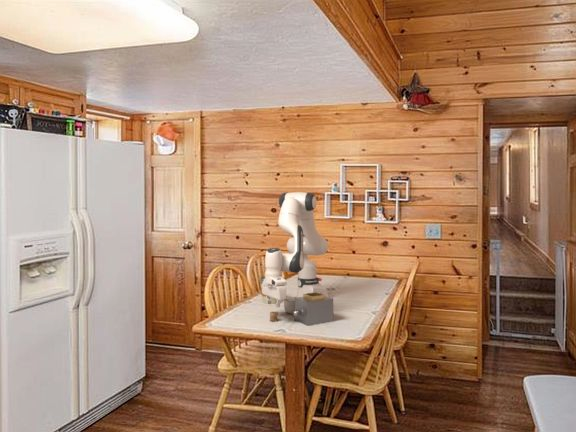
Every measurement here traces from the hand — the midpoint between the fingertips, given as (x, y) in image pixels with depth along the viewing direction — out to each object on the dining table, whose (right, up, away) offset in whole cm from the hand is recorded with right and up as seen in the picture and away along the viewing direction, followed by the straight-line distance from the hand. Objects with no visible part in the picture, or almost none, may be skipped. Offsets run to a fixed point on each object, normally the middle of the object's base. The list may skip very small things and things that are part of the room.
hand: (273, 305), depth 271 cm
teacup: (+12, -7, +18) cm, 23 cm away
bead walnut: (0, -8, +1) cm, 8 cm away
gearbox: (+20, -8, 0) cm, 22 cm away
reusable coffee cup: (-3, -6, +42) cm, 42 cm away
